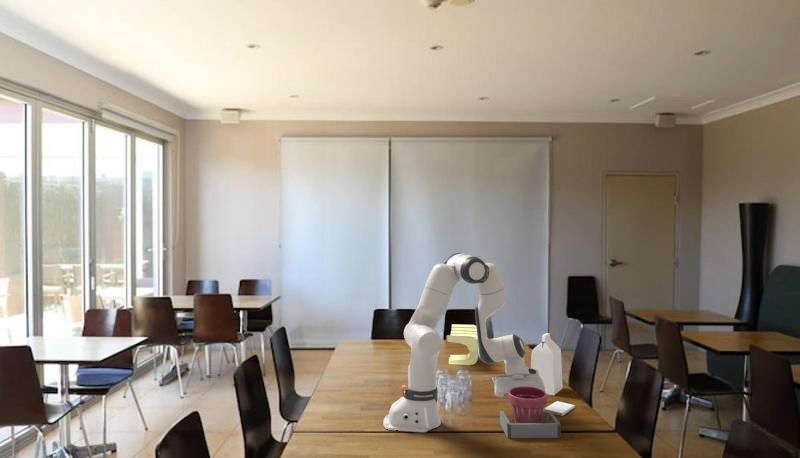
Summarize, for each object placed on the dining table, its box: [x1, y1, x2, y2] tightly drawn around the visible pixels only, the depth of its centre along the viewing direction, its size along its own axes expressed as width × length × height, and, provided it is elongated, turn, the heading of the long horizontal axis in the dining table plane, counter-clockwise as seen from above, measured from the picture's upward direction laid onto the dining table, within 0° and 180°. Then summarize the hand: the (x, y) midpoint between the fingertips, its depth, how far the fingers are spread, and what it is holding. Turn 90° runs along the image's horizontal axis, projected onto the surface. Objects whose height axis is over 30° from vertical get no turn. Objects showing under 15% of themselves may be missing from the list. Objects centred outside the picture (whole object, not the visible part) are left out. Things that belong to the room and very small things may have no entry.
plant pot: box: [507, 386, 547, 423], centre depth 203 cm, size 14×14×13 cm
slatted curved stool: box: [446, 323, 479, 366], centre depth 295 cm, size 30×16×18 cm, turn 169°
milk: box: [530, 332, 563, 396], centre depth 245 cm, size 12×12×26 cm
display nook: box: [499, 410, 562, 439], centre depth 198 cm, size 19×14×5 cm
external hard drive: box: [543, 400, 575, 417], centre depth 220 cm, size 2×8×12 cm
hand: (522, 406), depth 209 cm, fingers closed, pressing on plant pot
